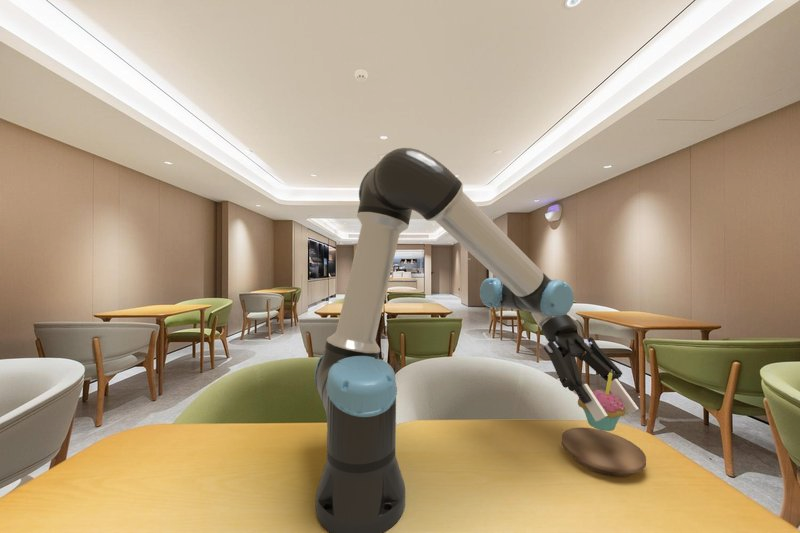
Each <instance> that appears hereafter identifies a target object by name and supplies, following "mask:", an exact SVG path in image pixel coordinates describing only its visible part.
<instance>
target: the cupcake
mask: <svg viewBox="0 0 800 533" xmlns="http://www.w3.org/2000/svg"><path fill="white" fill-rule="evenodd" d="M612 375H613V374H612V370H611V373H609V375H608V381H606V388H605V390H602V389H594V390H591V391H592V392H593V394H594V395H595V397H596V398H597V400H598V401H599V403H600V404H601V406H602V407H603V409H604V411H605V412H606V414H607V415H608V416H606V417H605V418H603V419H601V420H600V421H595V419H594V418H593V416H592V414H591V413H590V411H589V410H588V408H587V406H586V405H585V404H583V402H582V401H581V400H580V398H579V397H578V400H577V405H578V407H580V408H581V409H583V412H584V414H585V417H586V420H587V424H588V425H589V426H591V428H593V429H598V430H602V431H606V432H612V431H614V430H615V428H616V426H617V423H618V422H619V420H620V418H621V417H625V415H626V408H625V404H624V403H623V402H622V401H621V399H619V398H618V397H617V396H615V395H613V394H612V393H611V391H610V386H611V380H612Z"/></svg>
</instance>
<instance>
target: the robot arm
mask: <svg viewBox="0 0 800 533" xmlns="http://www.w3.org/2000/svg"><path fill="white" fill-rule="evenodd" d="M463 187H464V184H463V182H462V181H461V180H460V179H459V178H458V177H457V176H456V175H455V174H454V173H453V172H452V171H451V170H449V169H448V168H447V167H446V166H445V165H444V164H442V163H441V162H440V161H439V160H437V159H436V158H435V157H433V156H431V155H430V154H428V153H426V152H424V151H421V150H419V149H417V148H412V147H401V148H396V149H393V150H391V151H390V152H388V153H386V154H385V155H384V156H383V157H382V158H381V160H380V161H378V163H376V164H375V166H374V167H372V168H370V170H368V171H367V172H366V174H364V176H363V178H362V180H361V183H360V185H359V189H358V200H359V205H358V210H357V214H356V217H357V218H358V220H359V222H360V224H361V227H360V232H359V235H358V239H357V242H356V247H355V253H354V254H353V255H354V257H353V260H352V264H351V268H350V273H349V276H348V280H347V281H348V282H347V285H346V289H345V294H344V298H343V303H342V307H341V310H340V315H339V319H338V323H337V327H336V330H335V332H334V333H333V334H331V335H330V336H328V337H327V338H326V341H325V346H324V349H323V353H322V354H321V355H320V357H319V359H318V360H317V363H316V366H315V371H314V383H315V388H316V389H317V393H318V395H319V396H320V397H319V398H320V399H321V402H322V404H323V408H324V410H325V414H326V421H327V422H326V423H327V424H326V425H327V426H326V429H327V430H326V435H327V436H326V462H325V464H324V467H323V470H322V475H321V477H320V480H319V483H318V487H317V489H316V495H315V513H316V517H317V520H318V522H319V523H320V525H321V526H322V527H323V528H324V529H325V530H326V531H328V532H330V533H383V532H384V533H385V532H386V531H387V530H388V529H391V528H392V527H393V526H394V525H395V524H396V523H397V522H398V521H399V520H400V518H401V517H402V515H403V513H404V511H405V506H406V486H405V481H404V477H403V475H402V471H401V469H400V466H399V462H398V459H397V455H396V438H397V437H396V435H397V434H396V432H397V430H396V429H397V425H396V424H397V395H398V386H397V381H396V373H395V370H394V369H393V367H392V366H391V365H390V363H389V362H387V361H385V360H383V359H381V358H380V354H381V353H380V352H381V348H380V346H379V344H378V343H377V340H376V338H377V334H378V330H379V325H380V322H381V321H380V320H381V317H382V313H383V308H384V304H385V299H386V295H387V290H388V285H389V282H390V278H391V273H392V268H393V265H394V264H393V263H394V261H395V260H394V259H395V254H396V251H397V247H398V243H399V238H400V235H401V233H403V232H404V231H406V230H407V229H408V228H409V224H410V221H411V215H412V212H413V211H414V212H416V213H418V214H420V216H422V218H424V219H425V221H427V222H428V221H430V222H431V221H432V222H433V221H435V222H436V224H438V225H439V226H440V227H441V228H442V229H443V230H445V231H446V232H447V233H448V234H449V235H450V236H451V237H452V238H453V239H454V240H456V242H458V244H460V245H461V246H462V247H463V248H464V249H465V250H466V251H468V253H469V254H471V255H472V256H473V257H474V258H475V259H476V260H477V261H478V262H479V263H480V264H481V265H482V266H484V267H485V268H486V270H488V271H489V272H490V273H491V274H492V275H493V276H494V277H489V278H486V279H484V280H483V281H482V282H481V285H480V287H479V297H480V300H481V302H482V304H483V305H484V306H486V307H488V308H495V309H499V308H506V309H511V310H517V311H522V312H524V311H525V312H529V314H530V315H531V316H532V318H533V319H534V320H535V323H536V324H537V326H538V328H540V329H541V330H540V331H541V332H542V334H543V336H544V337H545V339H546V340H547V341H548V342H547V343H546V345H544V347H543V350H544V352H546V354H547V356H549V359H550V361H551V363H552V366H553V367H554V370H555V372H556V374H557V377H558V379H559V381H560V383H561V385H562V387H563V388H565V389H566V388H567V389H568V390H569V391H571V392H573V391H574V392H575V393H576V395H577V396H578V399H579V398H580V400H581V401H582V402H583V404H585V405H586V406H587V408H588V410H589V411H590V413H591V414H592V416H593V418H594V419H595V421H600V420H601V419H603V418H605V417H606V416H608V415H607V414H606V412H605V411H604V409H603V407H602V406H601V404H600V403H599V401H598V400H597V398H596V397H595V395H594V394H593V392H592V391H593V390H592V389H591V388H590V386H589V385H588V383H584V384H583V380H582V376H581V373H580V370H579V365H578V363H577V360H576V358H578V360H580V361H581V362H582V361H583V362H584V363H586V364H587V366H589V367H590V368H591V369H592V370H594V372H595V373H597V374H598V375H599V376H600V377H601V378H602V379H604V380H605V382H607V381H608V375H609V373H611V370H612V374H613V375H612V380H611V386H610V391H609V392H610V393H611V394H613V395H615V396H617V397H618V398H619V399H621V401H622V402H623V403H624V404H625V408H626V413H625V415H630V414H632V413H634V412H636V411H638V410H639V409H640V408H639V407H638V406H637V404H636V403H635V401H634V400H633V398H632V397H631V396H630V394H629V393H628V390H627V389H626V388H625V386H624V385H623V383H622V382H621V380H620V379H619V378H621V377H622V375H623V371H621V369H620V368H619V367H618V366H617V365H616V364H615V363H614V362H613V361H612V360H611V358H610V357H609V356H608V355H607V354H606V353H605V351H603V350H602V349H601V348H600V347H599V345H598V344H597V342H596V340H595V339H594V338H593V337H592V336H591V337H588V338H583V337H582V335H580V334H579V333H578V325H577V324H576V323H575V321H574V320H573V319H572V317H571V316H570V315H569V314H568V313H569V312H570V311H571V309H572V307H573V305H574V300H575V298H574V297H575V296H574V291H573V289H572V286H570V284H569V283H567V282H565V281H564V280H562V281H561V280H558V279H551V278H549V277H548V276H547V274H545V273H544V272H543V271H542V270H541V269H540V268H539V267H538V266H537V264H535V263H534V261H532V259H531V258H529V257H528V256H527V255H526V253H524V251H523V250H521V249H520V247H519V246H518V245H516V243H515V242H513V241H512V240H511V239H510V238H509V237H508V235H506V233H504V231H503V230H502V229H500V228H499V226H497V224H496V223H494V221H493V220H492V219H490V217H488V216H487V214H485V212H484V211H482V209H481V208H480V207H479V206H478V205H477V204H476V203H475V202H474V201H473V200H472V199H471V198H470V197H469V196H468V195H467V194H466V193H465V192H464V191H463V190H464V189H463Z"/></svg>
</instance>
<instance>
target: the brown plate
mask: <svg viewBox="0 0 800 533" xmlns="http://www.w3.org/2000/svg"><path fill="white" fill-rule="evenodd" d="M560 439H561V441H560V443H561V446H562V447H563V449H564V450H565V451H566V452H567V453H568V454H569V455H570V456H572V458H573V459H574V461H575V462H577V463H578V464H579V465H581V466H582V467H584V468H586V469H587V470H590V471H591V472H594V473H597V474H600V475H604V476H607V477H614V478H623V477H628V476H631V475H632V474H634V473H640V472H641V471H644V469H645V468H646V467H647V456H646V454H645V452H644V451H643V449H641V448H640V447H639V446H638V445H637V444H635V443H633V442H632V441H631V440H629V439H626V438H625V437H622V436H620V435H618V434H615V433H613V432H610V431H603V430H599V429H596V428H593V427H571V428H568V429H565V430H564V431H563V432H562V433H561V437H560Z"/></svg>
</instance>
